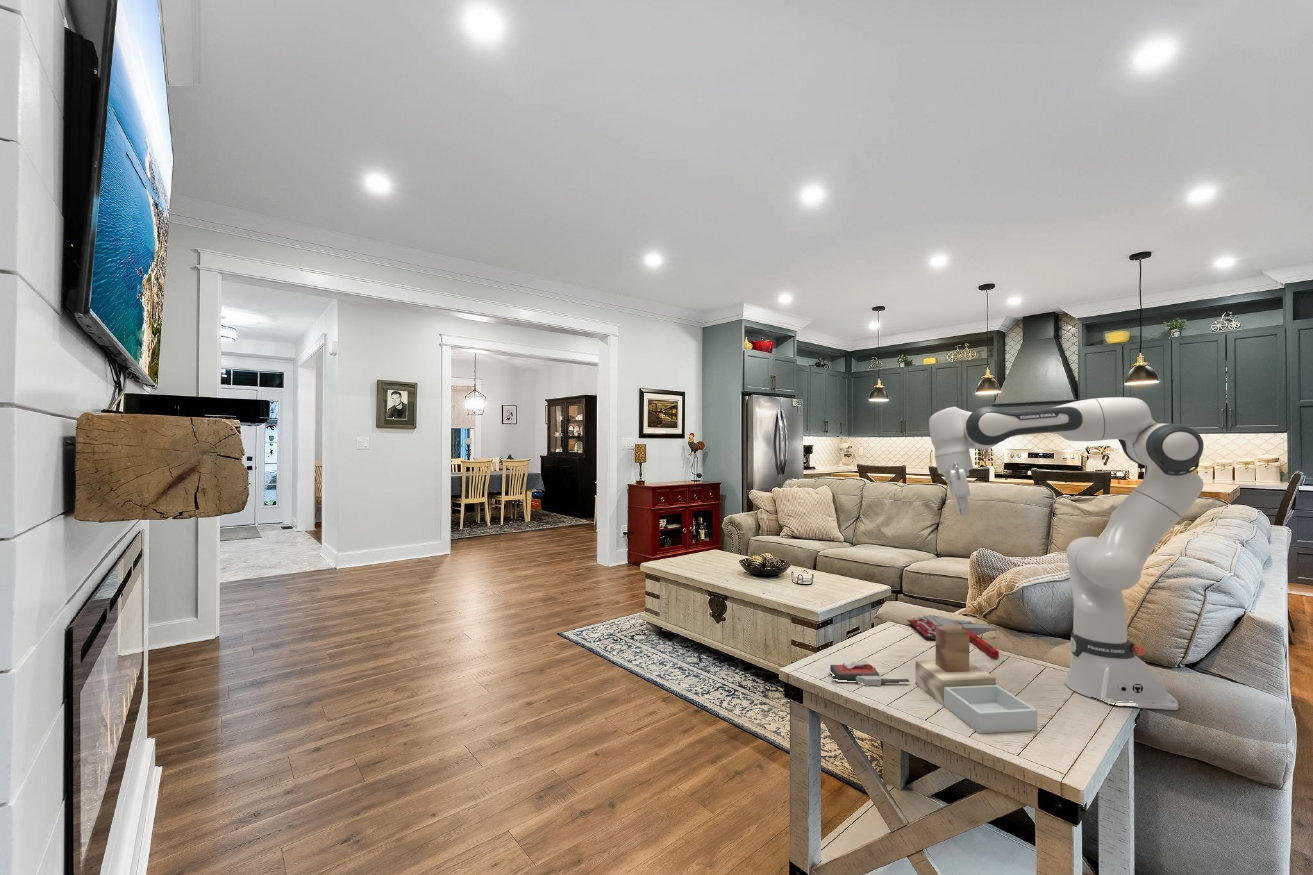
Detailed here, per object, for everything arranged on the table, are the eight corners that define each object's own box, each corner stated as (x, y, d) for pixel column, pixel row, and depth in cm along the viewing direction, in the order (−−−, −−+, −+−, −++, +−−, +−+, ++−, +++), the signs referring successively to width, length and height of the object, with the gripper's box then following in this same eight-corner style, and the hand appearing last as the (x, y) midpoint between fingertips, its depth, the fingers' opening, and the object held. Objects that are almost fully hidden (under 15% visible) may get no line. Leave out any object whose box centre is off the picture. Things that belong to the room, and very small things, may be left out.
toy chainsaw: (835, 688, 150) (911, 687, 150) (835, 671, 150) (911, 671, 150) (825, 673, 159) (896, 673, 159) (825, 658, 159) (896, 657, 159)
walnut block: (935, 664, 150) (935, 626, 150) (956, 663, 151) (957, 625, 150) (947, 672, 145) (947, 633, 145) (969, 671, 146) (969, 632, 146)
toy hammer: (945, 646, 170) (907, 614, 199) (944, 659, 170) (906, 625, 199) (1028, 649, 168) (977, 616, 198) (1028, 661, 168) (977, 626, 198)
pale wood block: (915, 683, 152) (915, 661, 152) (964, 681, 154) (964, 659, 154) (942, 704, 140) (943, 680, 140) (995, 702, 142) (996, 678, 142)
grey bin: (943, 705, 140) (943, 687, 140) (996, 702, 141) (996, 684, 141) (979, 733, 127) (979, 713, 127) (1037, 730, 128) (1037, 710, 128)
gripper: (969, 460, 149) (980, 513, 146) (965, 466, 167) (975, 513, 164) (942, 464, 151) (953, 516, 149) (941, 469, 170) (951, 516, 167)
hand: (965, 514), depth 157 cm, fingers open, 8 cm apart
